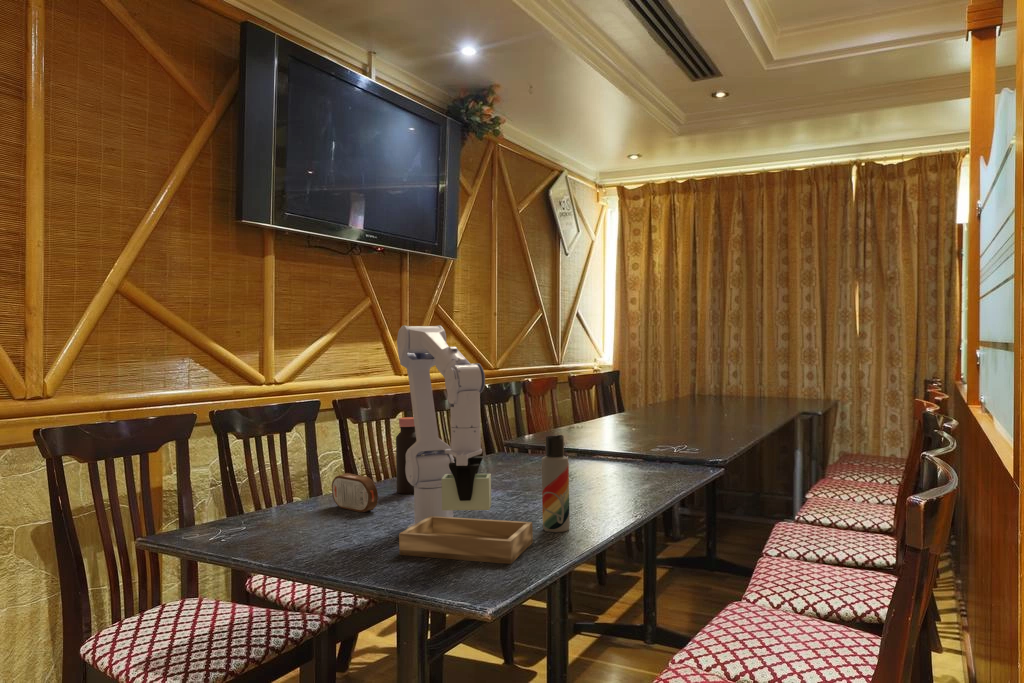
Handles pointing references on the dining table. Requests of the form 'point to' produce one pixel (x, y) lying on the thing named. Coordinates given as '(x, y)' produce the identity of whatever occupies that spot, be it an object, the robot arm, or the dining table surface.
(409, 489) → the vinegar
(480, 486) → the small crate
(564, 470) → the lotion bottle
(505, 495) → the dining table surface
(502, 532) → the pine crate
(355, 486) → the tin
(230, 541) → the dining table surface
